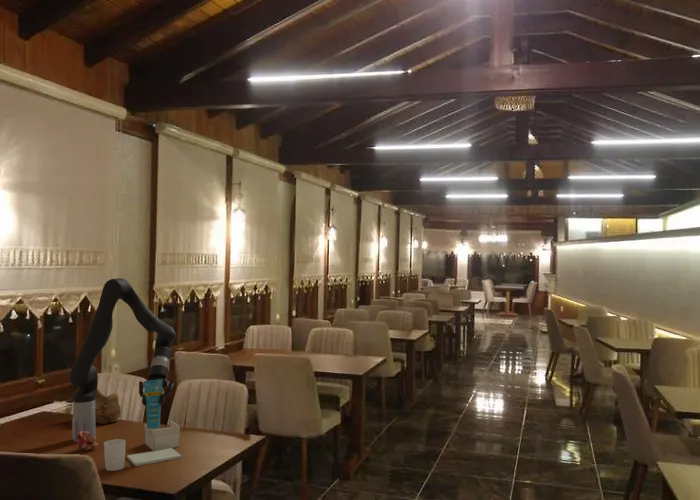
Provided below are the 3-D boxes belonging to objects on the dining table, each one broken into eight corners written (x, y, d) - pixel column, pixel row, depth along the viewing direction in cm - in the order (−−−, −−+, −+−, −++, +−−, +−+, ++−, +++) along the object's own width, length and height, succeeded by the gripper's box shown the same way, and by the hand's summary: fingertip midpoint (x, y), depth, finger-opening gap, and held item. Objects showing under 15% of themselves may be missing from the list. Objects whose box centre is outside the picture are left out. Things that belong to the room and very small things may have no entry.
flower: (70, 450, 260) (82, 434, 261) (68, 440, 268) (80, 424, 269) (91, 460, 265) (102, 444, 266) (88, 450, 273) (100, 434, 274)
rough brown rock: (64, 425, 312) (62, 395, 311) (92, 414, 327) (90, 386, 326) (97, 432, 302) (95, 401, 300) (124, 420, 316) (123, 391, 315)
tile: (135, 466, 244) (135, 463, 244) (127, 457, 255) (127, 455, 255) (181, 457, 254) (181, 455, 254) (171, 450, 265) (171, 447, 265)
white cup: (107, 465, 246) (107, 439, 246) (128, 464, 247) (128, 438, 247) (101, 472, 238) (101, 445, 238) (122, 471, 239) (122, 444, 239)
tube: (146, 430, 251) (145, 381, 251) (142, 427, 255) (142, 380, 255) (164, 427, 255) (164, 379, 255) (161, 424, 259) (160, 377, 259)
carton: (153, 451, 263) (153, 430, 264) (144, 443, 275) (144, 424, 275) (180, 446, 270) (180, 426, 270) (170, 439, 281) (170, 420, 281)
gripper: (140, 364, 262) (132, 399, 250) (175, 363, 263) (168, 398, 251) (143, 375, 267) (136, 410, 255) (178, 374, 268) (172, 409, 256)
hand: (152, 404), depth 253 cm, fingers closed on tube, 5 cm apart
